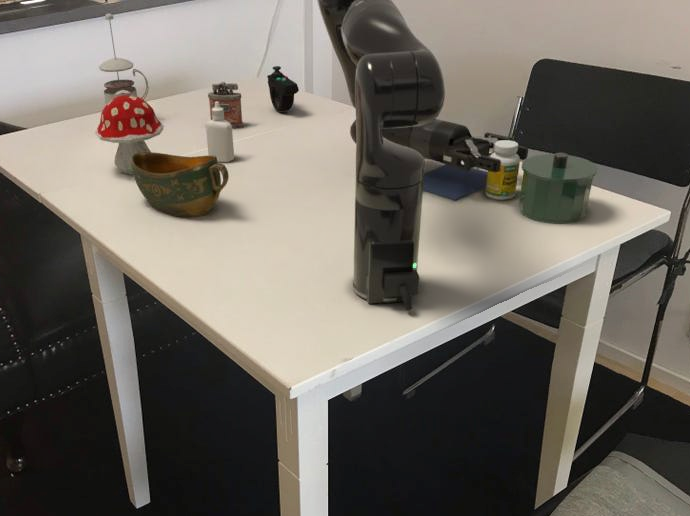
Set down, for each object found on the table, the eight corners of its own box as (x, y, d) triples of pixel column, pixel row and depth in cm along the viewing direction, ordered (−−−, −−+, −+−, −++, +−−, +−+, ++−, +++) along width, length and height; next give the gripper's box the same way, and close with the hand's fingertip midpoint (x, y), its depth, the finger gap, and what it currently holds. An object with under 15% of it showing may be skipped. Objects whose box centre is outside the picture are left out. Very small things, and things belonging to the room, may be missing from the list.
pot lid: (608, 183, 126) (612, 165, 124) (534, 187, 126) (537, 169, 124) (580, 158, 136) (583, 141, 134) (511, 162, 136) (514, 144, 134)
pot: (595, 221, 130) (604, 179, 126) (530, 225, 130) (536, 182, 126) (571, 196, 139) (579, 156, 135) (510, 199, 139) (516, 159, 135)
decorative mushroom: (123, 186, 153) (111, 110, 144) (89, 169, 162) (77, 96, 153) (181, 168, 160) (173, 95, 151) (146, 153, 169) (136, 82, 160)
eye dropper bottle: (224, 153, 166) (220, 97, 160) (236, 161, 162) (232, 103, 155) (206, 157, 165) (201, 100, 158) (217, 165, 161) (213, 107, 154)
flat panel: (502, 178, 148) (502, 176, 148) (455, 200, 140) (455, 198, 140) (451, 163, 156) (451, 161, 155) (404, 184, 148) (404, 182, 147)
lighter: (208, 127, 182) (204, 84, 177) (213, 123, 185) (209, 80, 179) (240, 129, 180) (237, 85, 174) (245, 124, 183) (242, 81, 177)
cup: (169, 234, 133) (162, 178, 127) (131, 197, 148) (123, 145, 142) (236, 218, 138) (232, 163, 132) (193, 183, 152) (188, 132, 147)
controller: (282, 104, 196) (280, 63, 190) (301, 117, 186) (300, 74, 180) (266, 106, 194) (264, 65, 189) (285, 119, 185) (283, 76, 179)
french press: (102, 121, 190) (84, 12, 176) (148, 115, 192) (134, 7, 178) (107, 132, 182) (89, 19, 168) (155, 126, 185) (141, 14, 171)
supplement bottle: (499, 187, 144) (505, 136, 139) (521, 195, 141) (529, 144, 135) (478, 194, 142) (484, 142, 137) (500, 202, 138) (507, 150, 133)
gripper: (417, 130, 141) (492, 149, 130) (463, 112, 148) (538, 129, 138) (414, 169, 145) (487, 191, 135) (460, 150, 152) (532, 169, 142)
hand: (513, 160), depth 136 cm, fingers open, 8 cm apart
